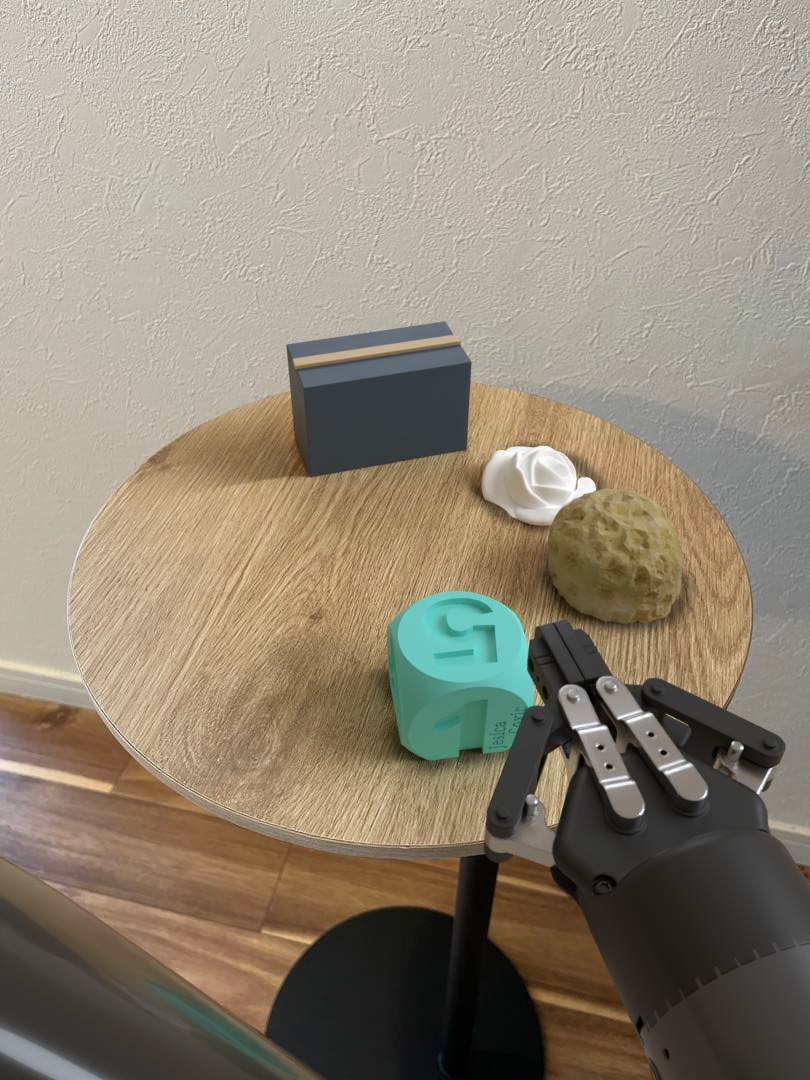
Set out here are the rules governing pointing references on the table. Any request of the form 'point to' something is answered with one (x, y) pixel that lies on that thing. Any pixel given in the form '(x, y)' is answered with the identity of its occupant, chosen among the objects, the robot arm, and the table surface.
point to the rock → (615, 556)
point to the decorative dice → (458, 674)
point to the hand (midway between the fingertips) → (548, 635)
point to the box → (379, 397)
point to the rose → (532, 483)
